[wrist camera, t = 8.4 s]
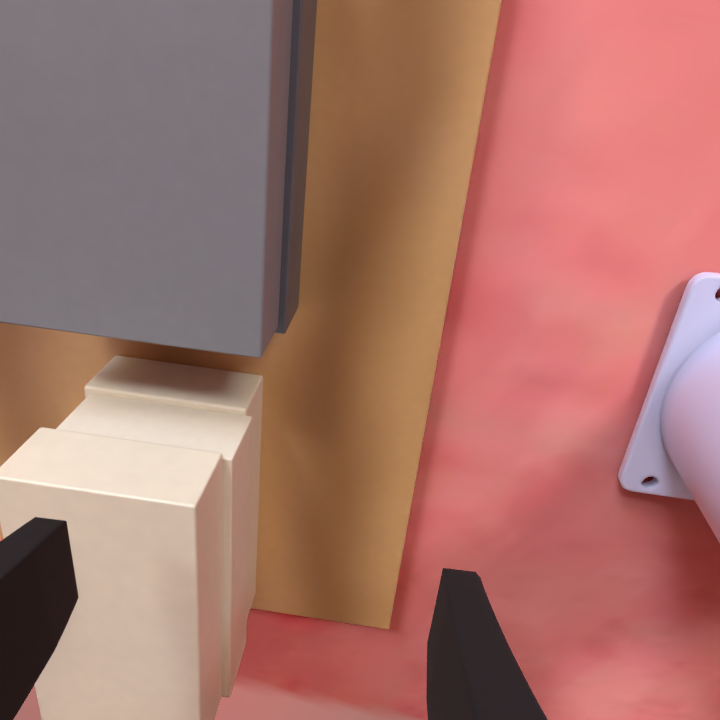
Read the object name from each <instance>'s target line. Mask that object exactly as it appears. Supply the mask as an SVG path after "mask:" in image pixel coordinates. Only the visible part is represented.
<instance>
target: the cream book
mask: <svg viewBox="0 0 720 720" xmlns="http://www.w3.org/2000/svg"><path fill="white" fill-rule="evenodd" d="M34 517H40V518H48V519H56V520H64V521H67V528H68V534H69V540H70V546H71V553H72V559H73V565H74V572H75V578H76V584H77V590H78V597H79V598H78V600H77V603H76V605H75V607H74V609H73V612H72V614H71V616H70V619H69V621H68V623H67V625H66V628H65V630H64V632H63V634H62V636H61V638H60V640H59V642H58V645H57V647H56V649H55V651H54V652H53V654H52V656H51V658H50V659H49V661H48V663H47V664H46V666H45V668H44V669H43V671H42V673H41V674H40V676H39V678H38V679H37V681H36V683H35V684H34V685H35V690H36V695H37V699H38V704H39V709H40V714H41V718H42V720H214V718H215V714H216V711H217V708H218V705H219V702H220V699H221V696H222V453H218V452H211V451H204V450H197V449H190V448H183V447H176V446H169V445H162V444H155V443H148V442H141V441H134V440H128V439H121V438H114V437H107V436H100V435H93V434H86V433H79V432H72V431H65V430H58V429H51V428H44V427H41V428H39V429H38V430H37V431H36V432H35V433H34V434H33V435H32V436H31V437H30V438H29V439H28V440H27V441H26V442H25V443H24V444H23V445H22V446H21V447H20V448H19V449H18V450H17V451H16V452H15V453H14V454H13V455H12V456H11V457H10V458H9V459H8V460H7V461H6V462H5V463H4V464H3V465H2V466H1V467H0V524H1V529H2V533H3V538H6V537H7V536H9V535H10V534H11V533H13V532H14V531H16V530H17V529H18V528H20V527H21V526H23V525H24V524H26V523H27V522H29V521H30V520H32V519H33V518H34Z"/></svg>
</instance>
